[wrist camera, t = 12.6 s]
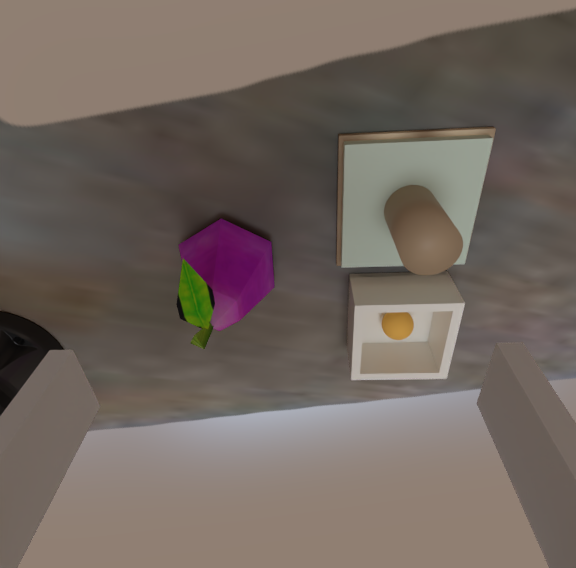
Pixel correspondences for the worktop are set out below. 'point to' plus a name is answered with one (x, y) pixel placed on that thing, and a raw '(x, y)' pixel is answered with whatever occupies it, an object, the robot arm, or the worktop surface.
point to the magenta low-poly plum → (222, 277)
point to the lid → (411, 201)
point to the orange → (397, 325)
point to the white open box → (426, 333)
